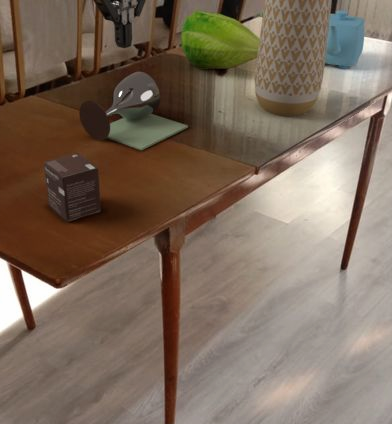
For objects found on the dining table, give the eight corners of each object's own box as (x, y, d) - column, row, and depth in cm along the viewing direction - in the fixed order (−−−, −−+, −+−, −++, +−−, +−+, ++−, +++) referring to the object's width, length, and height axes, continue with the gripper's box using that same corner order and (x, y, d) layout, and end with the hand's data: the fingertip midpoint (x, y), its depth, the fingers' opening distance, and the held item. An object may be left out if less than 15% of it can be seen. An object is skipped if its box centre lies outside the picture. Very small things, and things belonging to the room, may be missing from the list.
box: (48, 206, 97) (41, 161, 92) (82, 196, 100) (78, 151, 95) (67, 223, 93) (61, 177, 88) (102, 211, 96) (98, 166, 91)
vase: (323, 120, 127) (353, -58, 107) (256, 119, 126) (273, -61, 106) (310, 96, 137) (335, -71, 117) (248, 95, 136) (263, -73, 116)
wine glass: (73, 124, 117) (122, 96, 126) (105, 150, 117) (152, 121, 126) (82, 89, 111) (133, 62, 120) (116, 117, 110) (165, 88, 119)
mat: (141, 150, 113) (141, 148, 113) (92, 133, 118) (92, 131, 118) (187, 127, 122) (187, 125, 122) (140, 112, 127) (140, 110, 127)
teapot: (299, 70, 150) (307, 18, 143) (316, 50, 163) (323, 1, 156) (350, 78, 147) (361, 25, 140) (363, 57, 160) (373, 7, 153)
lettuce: (250, 85, 141) (255, 28, 133) (169, 71, 147) (170, 15, 139) (269, 68, 151) (275, 13, 143) (193, 55, 156) (195, 2, 148)
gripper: (129, -81, 102) (132, 34, 113) (70, -74, 93) (80, 50, 105) (165, -76, 98) (165, 43, 110) (108, -68, 90) (114, 60, 101)
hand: (123, 46), depth 107 cm, fingers closed
